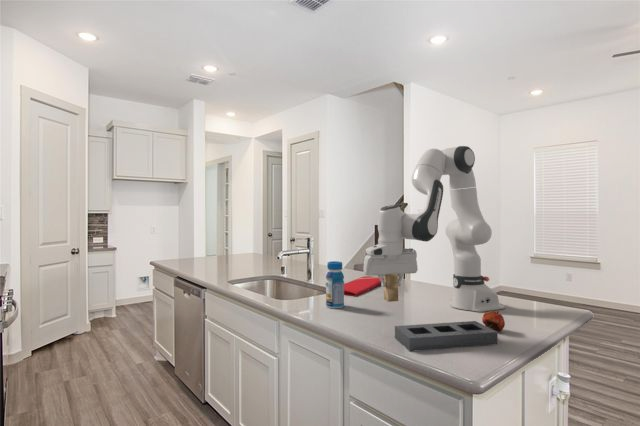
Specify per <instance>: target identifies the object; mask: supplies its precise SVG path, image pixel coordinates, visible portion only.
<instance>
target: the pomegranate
mask: <svg viewBox="0 0 640 426" xmlns="http://www.w3.org/2000/svg"><path fill="white" fill-rule="evenodd" d="M499 312H500V311H495V310H490V311H488V312H487V311H485V313H483V314H482V317H481V318H482V324H483V325H485V326H487V327H489V328H491V329H493V330H495V331H497V332H498V333H499V332H501V331H503V329H505V326H506V322H505V319H504V316H503V315H502V314H500V313H499Z"/></svg>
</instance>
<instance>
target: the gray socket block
mask: <svg viewBox="0 0 640 426" xmlns="http://www.w3.org/2000/svg"><path fill="white" fill-rule="evenodd" d="M498 334H499V332H498V331H495V330H493V329H491V328H489V327H487V326H485V324H484V323H480V322H478V321H476V320H472V321H471V320H469V321H457V322H456V321H454V322H438V323H424V324H423V323H422V324H409V325H408V324H407V325H395V326H394V339H395V338H396V339H395V340H396V341H397V342H399V343H400V344H401V345H402V346H403V345H404V346H405V347H406V348H405V347H404V346H403V347H404V348H405V349H406V350H407V351H408V352H415V351H414V350H420V351H428V350H429V351H431V350H442V349H453V348H454V349H455V348H456V349H457V348H468V347H481V346H493V345H494V346H495V345H498V340H499V339H498V338H499V337H498Z"/></svg>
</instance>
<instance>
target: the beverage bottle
mask: <svg viewBox="0 0 640 426" xmlns="http://www.w3.org/2000/svg"><path fill="white" fill-rule="evenodd" d="M326 265H327V266H326V267H327V270H328V272H327V273H326V276H325V279H326V281H325V298H326V299H325V300H326V301H325V306H326V307H327V308H329V309H341V308H343V307H344V306H345V295H344V284H345V281H344V279H345V276H344V273H343V272H342V270H343V262H342V261H327V264H326Z"/></svg>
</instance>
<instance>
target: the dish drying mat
mask: <svg viewBox="0 0 640 426" xmlns="http://www.w3.org/2000/svg"><path fill="white" fill-rule="evenodd" d="M382 279H383V280H384V278H382ZM380 285H381V281H380V279H379V278H378V276H367V275H365V276H362V277H359V278H357V279H353V280H351V281H348V282H344V296H347V297H353V298H355V297H358V296H360V295H362V294H364V293H366V292H368V291H370V290H372V289H374V288H376V287H378V286H380Z"/></svg>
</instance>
